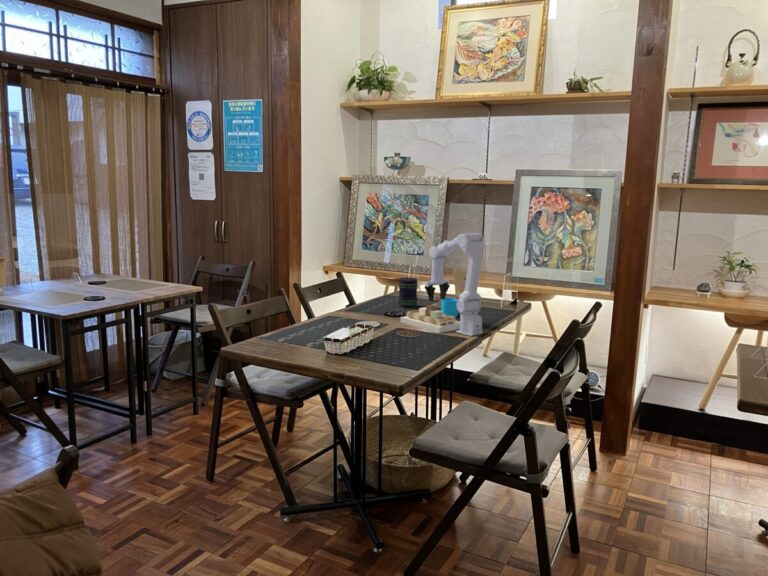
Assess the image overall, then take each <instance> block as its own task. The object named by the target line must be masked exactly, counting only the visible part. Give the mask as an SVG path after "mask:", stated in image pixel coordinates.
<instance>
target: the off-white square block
mask: <svg viewBox="0 0 768 576" xmlns="http://www.w3.org/2000/svg"><path fill="white" fill-rule="evenodd" d="M418 310H419V315H423V316H426V306H424V307H419V308H418Z"/></svg>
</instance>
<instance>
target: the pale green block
mask: <svg viewBox="0 0 768 576" xmlns="http://www.w3.org/2000/svg"><path fill="white" fill-rule="evenodd" d="M430 317H431V318H435V319H439V318H443V311H441V310H438V309H435V310H433V311H430Z"/></svg>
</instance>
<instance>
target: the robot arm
mask: <svg viewBox="0 0 768 576" xmlns="http://www.w3.org/2000/svg"><path fill="white" fill-rule="evenodd" d="M484 245H485V239H484V237H483V235H482V234H481V233H480V232H476V233H473V232H471V233H460V234H458V235H457V236H456V237H455V238H454V239H452V240H447V239H446V240H444V241H443V242H442V243H438V244H437V245H436V246H434V245H433V246H431V247H430V248H429V250H428V251H429V257H430V258H431V279H430V280H429V281H425V282H424V289H425V292H426V293H427V296H428V301H429V302H434V298H435V291H436V287H434V286H438V287H439V293H440V294H439V296H440V297H439V298H440V300H442V299H445V298H446V296H447V293H448V290H449V288H450V287H451V286H450V283H451V282H450V279H448V278H446V279H444V276H445V275H444V272H445V269H444V268H445V262H446V258H447V255H449V254H451V253H453V252H454V250H455V248H457V247H460V248H461V250H462V251H463V253H464V254H466V255H468V257H469V258H468V263H467V264H468V265H467V271H466V277H465V285H464V290H463V292H462V293H460V295H459V296H458V301H457V309H458V313H459V315H460V316H459V317H460V318H459V319H460V320H459V321H460V329H457V330H455V332H456V333H459V334H463V335H466V336H469V337H470V336H471V337H473V336H477V335H483V334H484V332H483V318H482V316H481V315H480V314H479V311H480V310H481V309H482V301H481V300H482V296H481V295H480V294H479V293H478V287H479V286H478V285H479V281H480V274H481V268H482V260H483V251H484Z"/></svg>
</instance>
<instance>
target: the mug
mask: <svg viewBox="0 0 768 576" xmlns="http://www.w3.org/2000/svg"><path fill="white" fill-rule="evenodd" d="M458 299H459V298H458ZM458 299H457V298H454V297H445V299H440V300H441V303H440V304H441V305H440V307H441V309H440V311H443V314H445V315H449V316H453V317H455V318H456V317H457V318H458V313H459V311H458V309H457V301H458Z"/></svg>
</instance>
